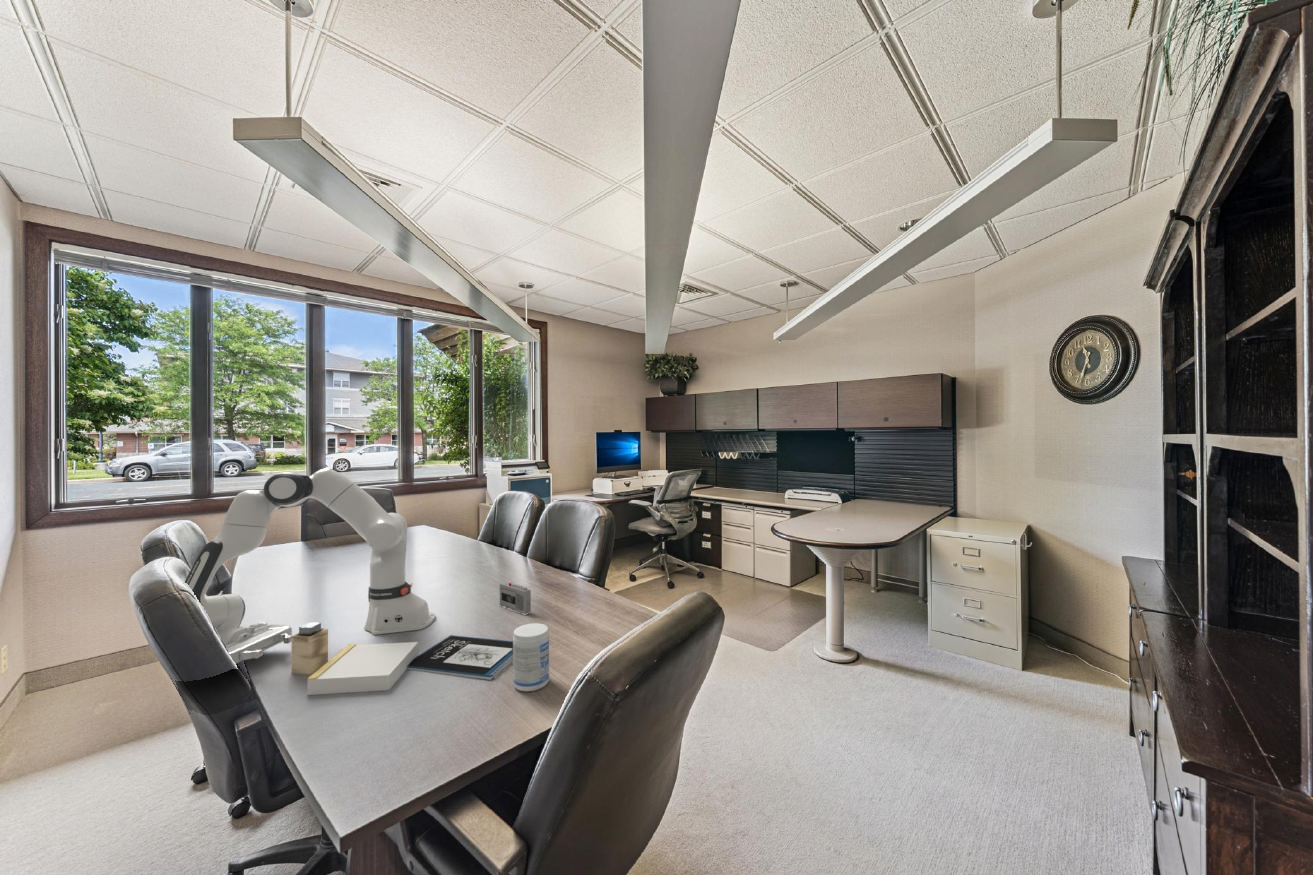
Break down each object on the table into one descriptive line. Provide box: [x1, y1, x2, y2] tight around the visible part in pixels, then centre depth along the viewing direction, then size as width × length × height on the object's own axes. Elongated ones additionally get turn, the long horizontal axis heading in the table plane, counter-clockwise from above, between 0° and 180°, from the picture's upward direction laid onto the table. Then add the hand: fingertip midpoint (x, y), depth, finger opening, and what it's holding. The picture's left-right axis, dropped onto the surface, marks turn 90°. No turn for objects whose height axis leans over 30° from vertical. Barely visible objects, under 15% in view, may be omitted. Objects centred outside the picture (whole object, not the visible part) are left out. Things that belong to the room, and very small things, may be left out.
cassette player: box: [499, 581, 532, 614], centre depth 180 cm, size 16×3×10 cm, turn 54°
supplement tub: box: [512, 622, 550, 692], centre depth 126 cm, size 10×10×15 cm
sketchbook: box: [406, 634, 513, 681], centre depth 142 cm, size 22×30×2 cm
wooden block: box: [291, 627, 329, 675], centre depth 135 cm, size 6×6×10 cm
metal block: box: [298, 621, 322, 636], centre depth 135 cm, size 4×4×4 cm
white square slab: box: [306, 641, 419, 696], centre depth 132 cm, size 20×20×4 cm
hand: (276, 646), depth 136 cm, fingers open, 8 cm apart
